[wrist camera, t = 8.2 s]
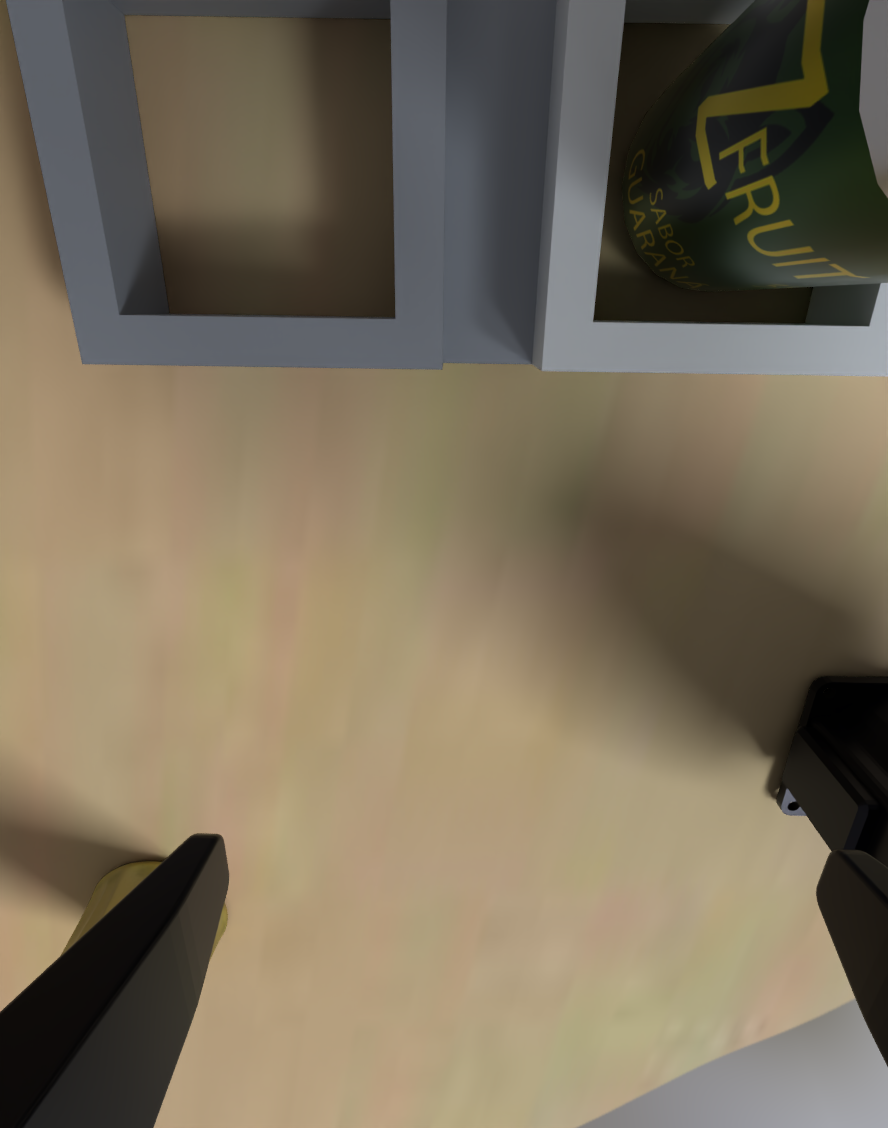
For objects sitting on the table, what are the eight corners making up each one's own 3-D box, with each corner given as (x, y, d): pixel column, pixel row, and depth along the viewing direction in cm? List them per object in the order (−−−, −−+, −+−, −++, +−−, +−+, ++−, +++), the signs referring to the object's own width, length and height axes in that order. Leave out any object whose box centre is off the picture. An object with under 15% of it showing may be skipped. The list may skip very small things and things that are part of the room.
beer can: (755, 10, 15) (1557, -765, 4) (846, 202, 17) (1597, 8, 6) (576, 168, 17) (827, -102, 6) (677, 332, 18) (1026, 374, 7)
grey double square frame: (936, -35, 15) (1048, -113, 12) (834, 366, 19) (901, 376, 16) (65, -49, 15) (-22, -129, 12) (136, 355, 19) (82, 364, 16)
